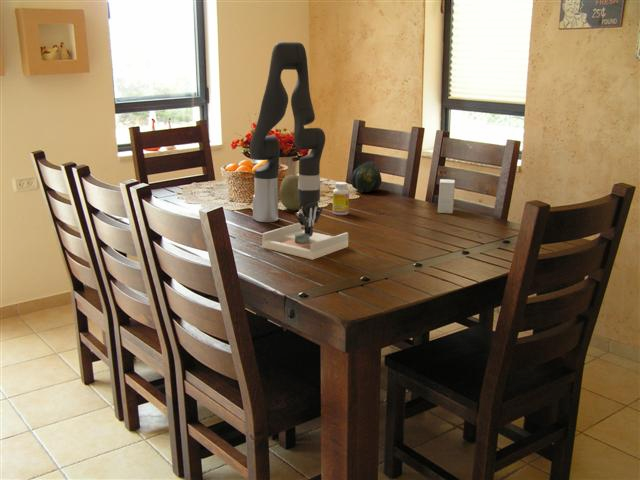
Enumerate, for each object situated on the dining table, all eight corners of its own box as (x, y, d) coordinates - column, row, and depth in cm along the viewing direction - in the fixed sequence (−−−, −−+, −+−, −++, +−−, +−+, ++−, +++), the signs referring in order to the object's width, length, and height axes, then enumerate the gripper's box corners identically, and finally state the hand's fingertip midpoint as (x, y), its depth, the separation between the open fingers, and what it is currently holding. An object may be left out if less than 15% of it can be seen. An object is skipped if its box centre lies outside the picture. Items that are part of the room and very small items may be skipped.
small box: (452, 213, 298) (455, 183, 295) (437, 212, 299) (439, 182, 296) (453, 209, 306) (455, 179, 302) (438, 208, 307) (439, 178, 303)
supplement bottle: (347, 215, 292) (347, 185, 288) (331, 214, 293) (331, 184, 289) (349, 212, 298) (350, 181, 294) (334, 211, 299) (334, 181, 296)
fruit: (311, 208, 303) (311, 173, 299) (296, 213, 294) (296, 177, 290) (289, 205, 309) (289, 170, 305) (273, 209, 300) (273, 174, 296)
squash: (343, 181, 333) (365, 158, 329) (347, 177, 348) (368, 155, 343) (365, 202, 334) (387, 180, 330) (368, 197, 348) (389, 175, 344)
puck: (291, 242, 244) (291, 235, 243) (301, 239, 247) (301, 232, 247) (303, 244, 241) (303, 237, 240) (312, 241, 245) (312, 234, 244)
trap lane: (262, 247, 246) (262, 233, 244) (299, 235, 261) (299, 222, 260) (312, 259, 233) (312, 244, 232) (348, 246, 248) (348, 232, 247)
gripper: (312, 182, 250) (311, 230, 254) (288, 188, 240) (288, 238, 244) (329, 185, 245) (328, 234, 250) (305, 191, 235) (305, 242, 240)
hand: (308, 236), depth 247 cm, fingers closed
